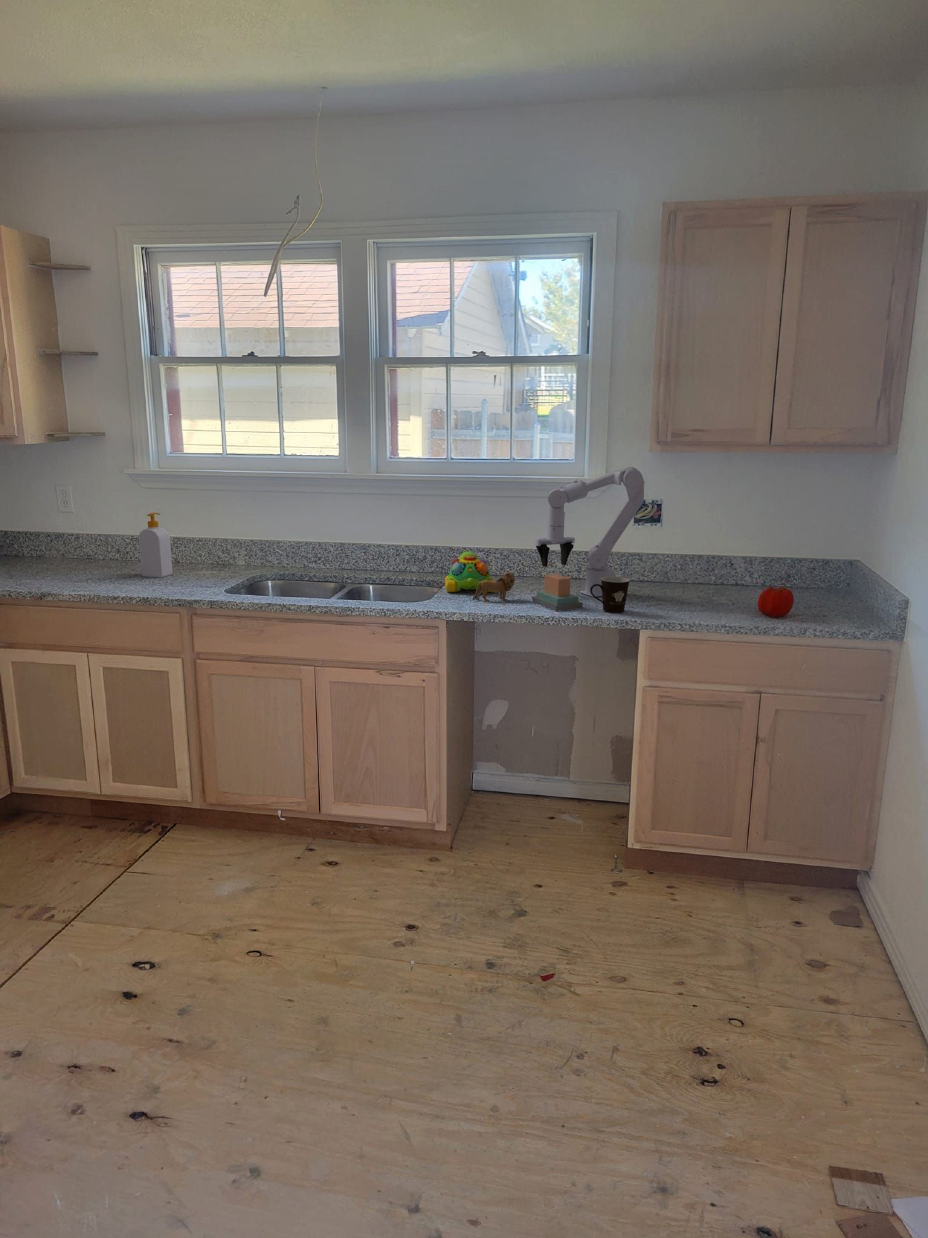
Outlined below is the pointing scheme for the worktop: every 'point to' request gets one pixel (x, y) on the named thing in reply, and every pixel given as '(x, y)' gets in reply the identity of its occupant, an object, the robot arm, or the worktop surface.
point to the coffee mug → (613, 593)
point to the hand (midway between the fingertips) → (554, 565)
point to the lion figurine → (496, 586)
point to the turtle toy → (467, 573)
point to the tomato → (775, 601)
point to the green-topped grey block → (557, 601)
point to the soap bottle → (155, 550)
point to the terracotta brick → (557, 585)
